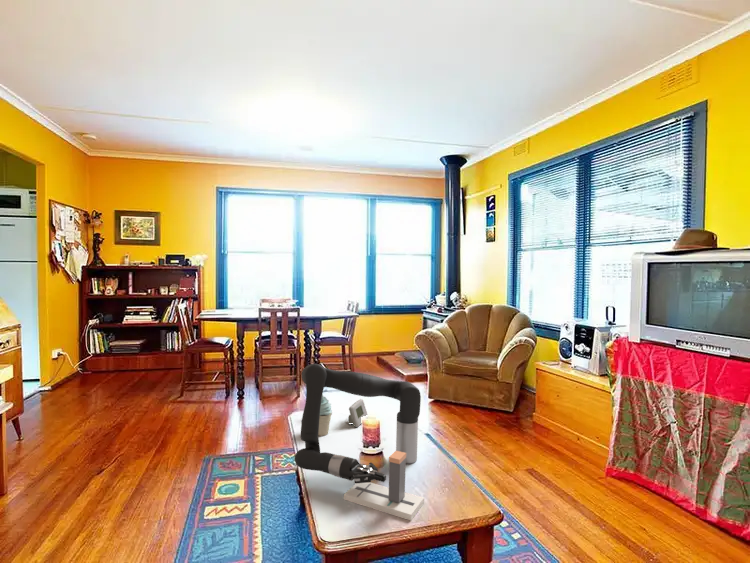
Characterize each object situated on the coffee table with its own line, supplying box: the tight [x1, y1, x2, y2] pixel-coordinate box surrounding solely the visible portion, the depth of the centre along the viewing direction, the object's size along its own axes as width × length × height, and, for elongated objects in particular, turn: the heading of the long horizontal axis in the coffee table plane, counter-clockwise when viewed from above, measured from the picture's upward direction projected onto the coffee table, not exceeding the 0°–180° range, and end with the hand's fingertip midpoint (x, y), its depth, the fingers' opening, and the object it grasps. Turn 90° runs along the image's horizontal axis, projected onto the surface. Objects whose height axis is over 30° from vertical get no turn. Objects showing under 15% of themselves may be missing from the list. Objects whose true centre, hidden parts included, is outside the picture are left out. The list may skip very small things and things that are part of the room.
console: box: [343, 481, 425, 521], centre depth 153 cm, size 12×26×2 cm, turn 63°
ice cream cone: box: [318, 393, 333, 437], centre depth 213 cm, size 10×11×20 cm
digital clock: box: [347, 398, 369, 428], centre depth 230 cm, size 16×9×11 cm, turn 149°
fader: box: [388, 450, 406, 503], centre depth 151 cm, size 6×4×16 cm, turn 153°
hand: (385, 478), depth 153 cm, fingers closed
